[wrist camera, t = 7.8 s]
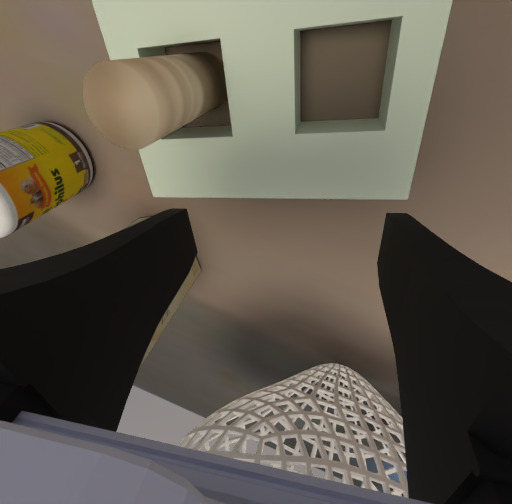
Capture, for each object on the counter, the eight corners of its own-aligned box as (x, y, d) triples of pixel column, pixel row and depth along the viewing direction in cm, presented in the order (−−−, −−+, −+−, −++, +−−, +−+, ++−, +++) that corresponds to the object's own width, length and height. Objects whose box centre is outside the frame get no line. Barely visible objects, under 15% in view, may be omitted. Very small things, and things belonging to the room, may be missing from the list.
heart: (517, 392, 28) (834, 1011, 10) (402, 440, 37) (462, 802, 19) (252, 261, 25) (63, 758, 8) (202, 348, 35) (66, 661, 17)
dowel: (229, 53, 17) (150, 62, 10) (230, 110, 19) (164, 153, 11) (180, 50, 17) (70, 58, 10) (185, 106, 19) (96, 146, 12)
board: (454, -103, 12) (483, -139, 10) (398, 179, 19) (407, 199, 16) (115, -35, 16) (76, -49, 13) (172, 180, 22) (153, 196, 20)
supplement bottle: (88, 201, 25) (-26, 276, 17) (28, 161, 24) (-124, 222, 16) (104, 151, 22) (-27, 214, 14) (36, 102, 21) (-149, 141, 13)
